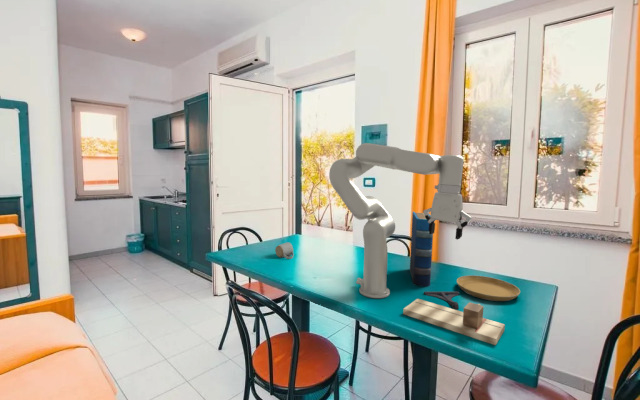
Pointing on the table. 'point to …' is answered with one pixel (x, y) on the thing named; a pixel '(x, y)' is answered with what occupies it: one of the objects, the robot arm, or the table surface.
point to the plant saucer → (488, 288)
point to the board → (454, 321)
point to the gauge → (473, 315)
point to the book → (421, 250)
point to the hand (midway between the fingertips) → (444, 236)
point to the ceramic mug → (284, 250)
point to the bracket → (445, 297)
